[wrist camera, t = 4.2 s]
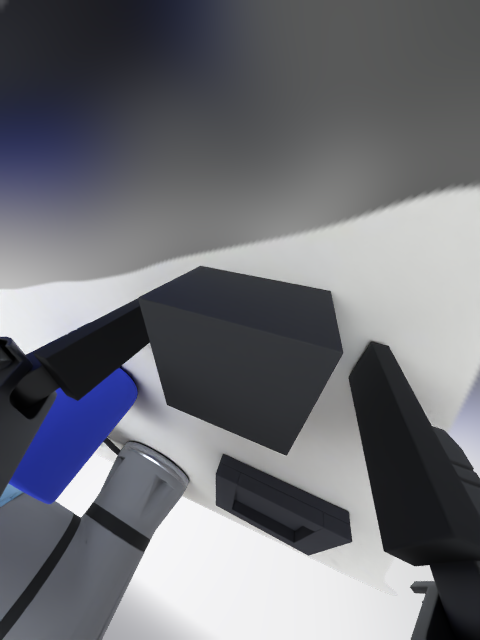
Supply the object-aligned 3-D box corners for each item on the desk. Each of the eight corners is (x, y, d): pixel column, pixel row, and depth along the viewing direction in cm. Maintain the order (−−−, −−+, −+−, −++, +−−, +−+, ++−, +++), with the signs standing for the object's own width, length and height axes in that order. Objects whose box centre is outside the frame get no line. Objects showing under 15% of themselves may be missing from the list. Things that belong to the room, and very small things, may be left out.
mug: (70, 313, 18) (-130, 398, 10) (157, 392, 20) (55, 513, 12) (60, 343, 22) (-80, 417, 14) (132, 404, 25) (47, 497, 17)
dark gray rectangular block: (204, 354, 14) (166, 405, 10) (200, 265, 10) (136, 297, 6) (294, 383, 12) (286, 456, 9) (331, 290, 8) (344, 352, 5)
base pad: (221, 488, 31) (215, 505, 29) (223, 453, 23) (215, 474, 21) (309, 533, 28) (308, 555, 26) (349, 511, 19) (352, 542, 18)
